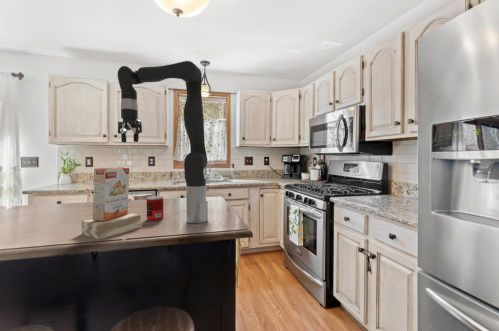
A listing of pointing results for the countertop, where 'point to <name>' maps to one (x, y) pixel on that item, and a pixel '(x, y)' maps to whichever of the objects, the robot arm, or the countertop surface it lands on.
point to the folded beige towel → (110, 226)
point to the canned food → (154, 208)
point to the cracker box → (110, 193)
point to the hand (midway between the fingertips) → (129, 142)
